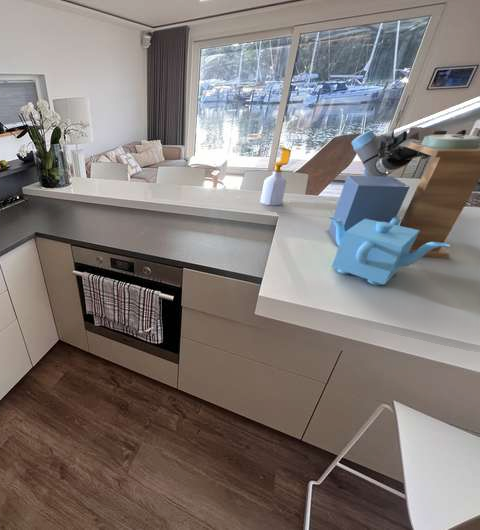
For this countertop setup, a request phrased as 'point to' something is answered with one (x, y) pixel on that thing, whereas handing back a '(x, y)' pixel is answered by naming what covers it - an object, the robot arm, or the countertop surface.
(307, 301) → the countertop surface
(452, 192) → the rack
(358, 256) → the teakettle
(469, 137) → the clock
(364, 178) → the slate blue block
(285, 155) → the soap bottle
